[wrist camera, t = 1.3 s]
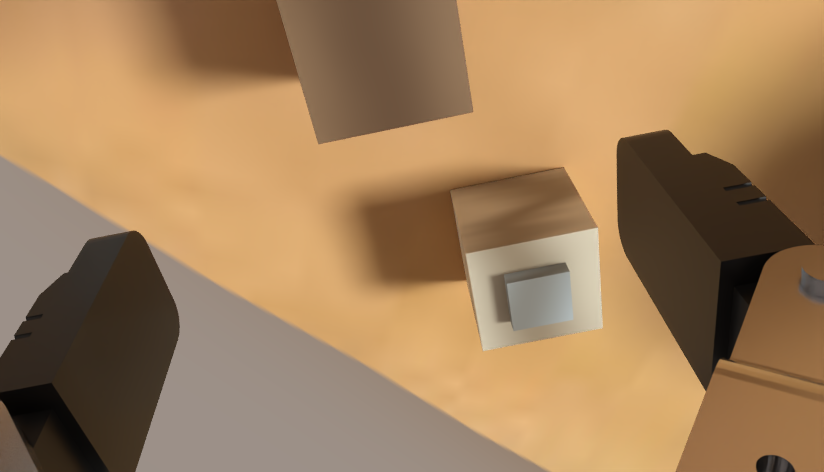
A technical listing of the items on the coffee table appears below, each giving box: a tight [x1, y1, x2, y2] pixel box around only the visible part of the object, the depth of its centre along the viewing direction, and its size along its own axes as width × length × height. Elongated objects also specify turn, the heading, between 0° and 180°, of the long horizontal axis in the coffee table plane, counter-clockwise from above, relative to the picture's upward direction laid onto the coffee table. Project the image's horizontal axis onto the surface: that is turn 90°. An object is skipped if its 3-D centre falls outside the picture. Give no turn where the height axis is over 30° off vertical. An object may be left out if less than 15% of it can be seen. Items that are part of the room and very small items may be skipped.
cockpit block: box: [450, 167, 603, 351], centre depth 29 cm, size 5×5×6 cm
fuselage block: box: [276, 0, 473, 144], centre depth 23 cm, size 5×5×6 cm
